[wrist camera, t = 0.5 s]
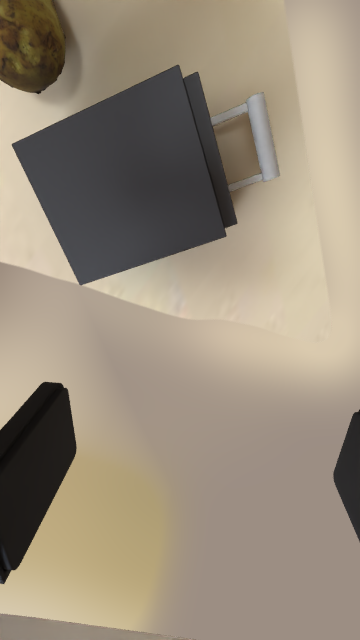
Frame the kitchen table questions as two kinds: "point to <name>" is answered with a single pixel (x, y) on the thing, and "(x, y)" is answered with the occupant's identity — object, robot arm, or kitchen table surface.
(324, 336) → the kitchen table surface
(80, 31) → the kitchen table surface
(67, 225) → the dark gray cabinet
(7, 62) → the potato
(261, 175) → the handled dark box
